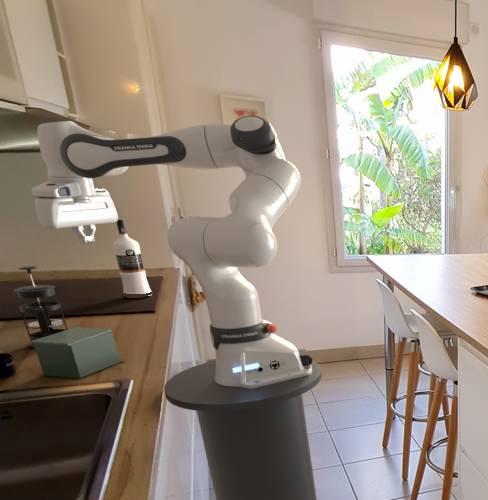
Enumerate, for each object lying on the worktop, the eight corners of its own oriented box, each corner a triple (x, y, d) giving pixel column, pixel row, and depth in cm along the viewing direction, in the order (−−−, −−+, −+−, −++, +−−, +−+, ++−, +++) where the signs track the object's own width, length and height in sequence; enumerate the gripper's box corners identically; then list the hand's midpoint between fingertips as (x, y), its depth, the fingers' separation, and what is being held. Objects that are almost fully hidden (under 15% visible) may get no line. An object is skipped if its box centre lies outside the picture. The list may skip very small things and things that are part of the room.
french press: (32, 341, 165) (7, 265, 156) (72, 336, 170) (50, 262, 162) (29, 352, 156) (3, 271, 148) (71, 346, 162) (48, 269, 153)
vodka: (151, 293, 226) (133, 218, 215) (153, 297, 219) (135, 220, 208) (123, 296, 220) (103, 218, 209) (125, 300, 213) (105, 221, 202)
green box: (80, 378, 140) (70, 345, 137) (43, 375, 141) (33, 343, 138) (120, 362, 151) (112, 331, 148) (86, 359, 152) (77, 329, 149)
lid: (68, 346, 136) (67, 343, 136) (30, 343, 137) (30, 341, 137) (112, 331, 148) (111, 329, 148) (77, 329, 149) (76, 326, 149)
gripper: (96, 186, 152) (109, 237, 157) (24, 189, 133) (41, 247, 139) (117, 187, 152) (129, 238, 157) (47, 190, 133) (64, 248, 138)
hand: (87, 242), depth 148 cm, fingers closed
